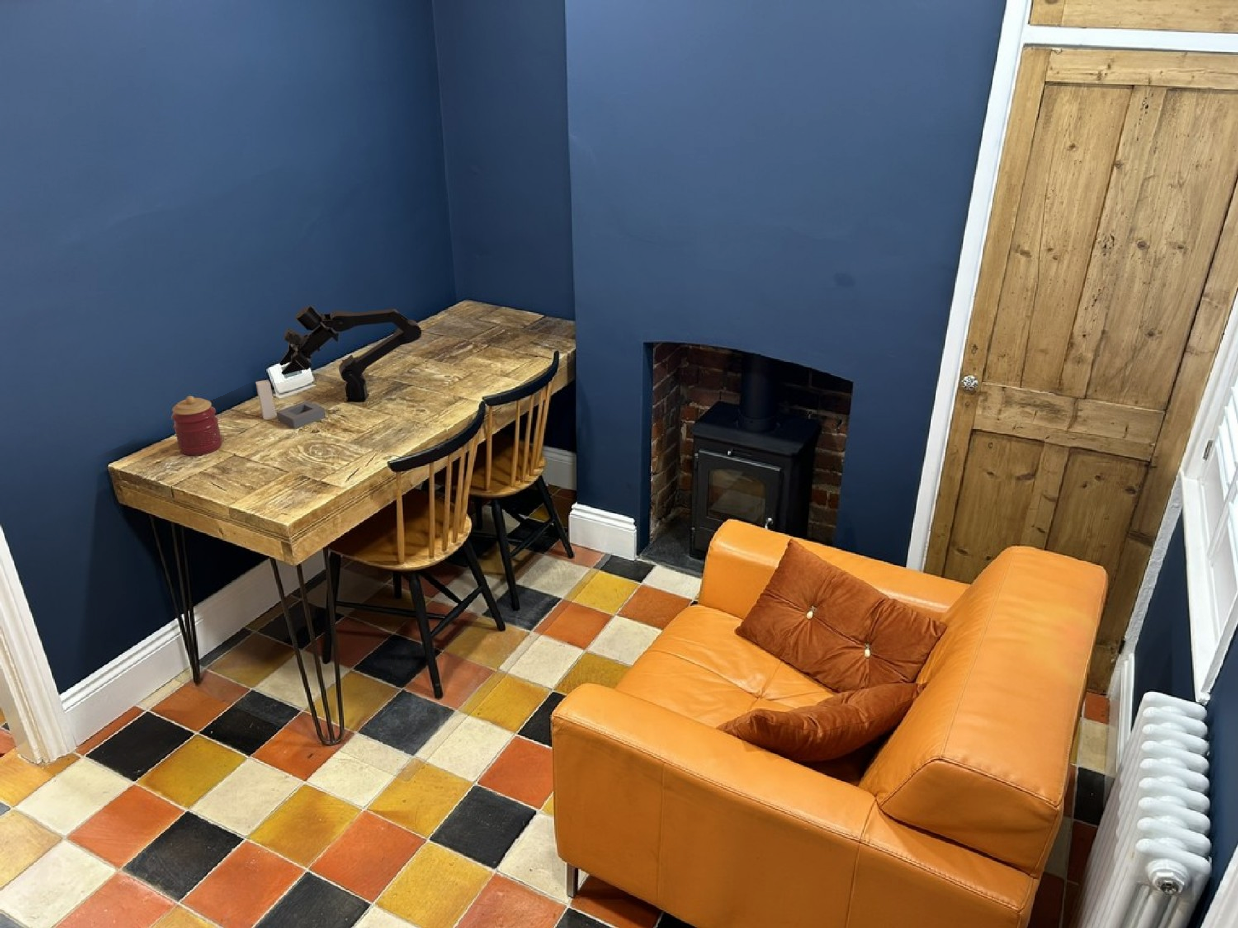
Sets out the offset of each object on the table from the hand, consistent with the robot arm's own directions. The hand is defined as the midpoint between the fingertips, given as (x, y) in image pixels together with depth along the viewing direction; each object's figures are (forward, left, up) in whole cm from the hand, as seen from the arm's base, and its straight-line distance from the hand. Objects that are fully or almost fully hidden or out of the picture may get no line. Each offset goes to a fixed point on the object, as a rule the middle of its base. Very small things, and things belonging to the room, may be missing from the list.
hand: (281, 369), depth 319 cm
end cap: (-8, +8, -15) cm, 19 cm away
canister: (+17, +30, -15) cm, 38 cm away
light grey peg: (+4, +6, -15) cm, 17 cm away
